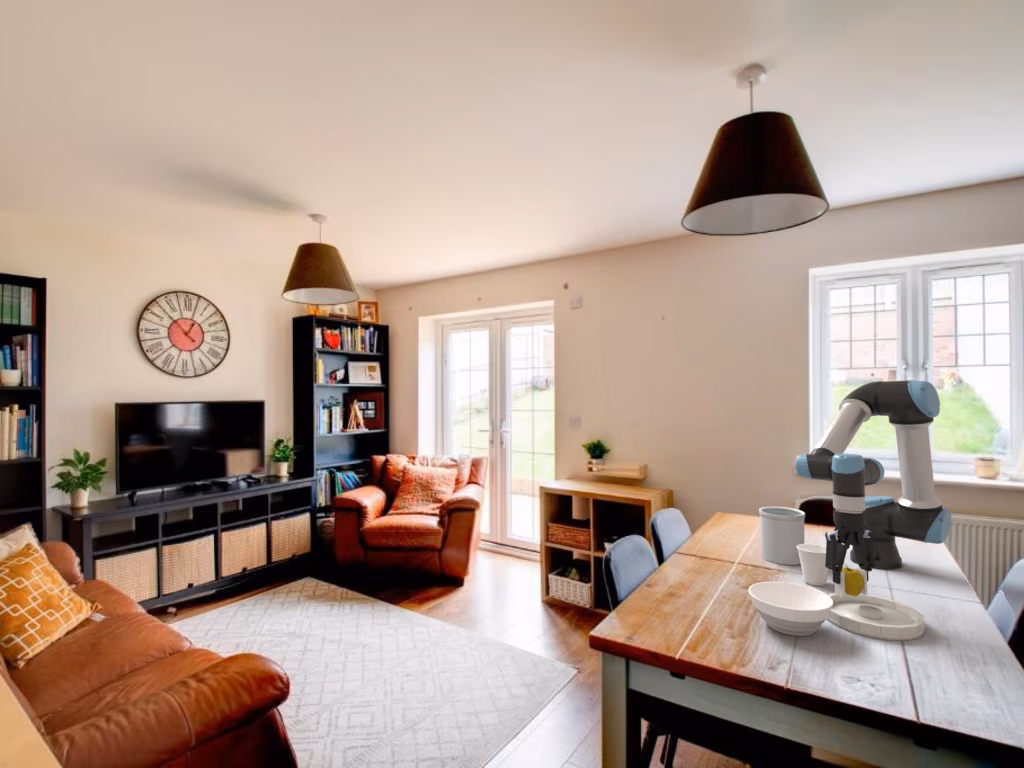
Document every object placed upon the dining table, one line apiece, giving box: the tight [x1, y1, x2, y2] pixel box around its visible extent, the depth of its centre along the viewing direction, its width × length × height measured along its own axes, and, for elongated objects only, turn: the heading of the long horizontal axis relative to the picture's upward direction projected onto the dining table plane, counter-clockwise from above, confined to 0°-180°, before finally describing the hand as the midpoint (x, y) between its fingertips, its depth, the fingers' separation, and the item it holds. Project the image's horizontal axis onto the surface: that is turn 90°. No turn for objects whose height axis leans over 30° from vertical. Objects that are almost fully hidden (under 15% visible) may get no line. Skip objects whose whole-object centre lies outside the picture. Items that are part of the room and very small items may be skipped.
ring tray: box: [825, 592, 926, 642], centre depth 137 cm, size 22×22×3 cm
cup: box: [797, 543, 830, 587], centre depth 165 cm, size 10×10×11 cm
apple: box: [841, 563, 864, 597], centre depth 143 cm, size 6×6×8 cm
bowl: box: [748, 581, 833, 637], centre depth 134 cm, size 20×19×8 cm
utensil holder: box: [758, 506, 806, 566], centre depth 189 cm, size 15×15×18 cm
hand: (851, 593), depth 143 cm, fingers closed on apple, 6 cm apart
